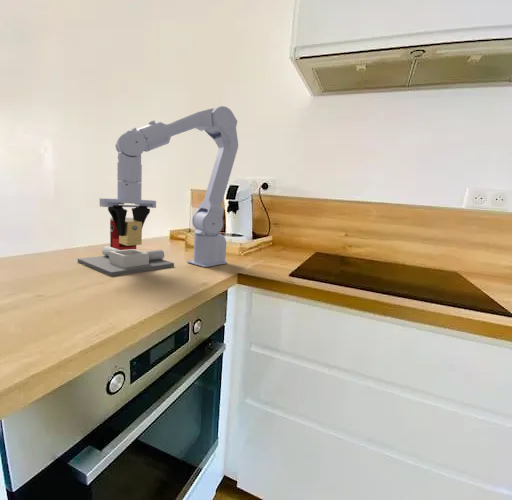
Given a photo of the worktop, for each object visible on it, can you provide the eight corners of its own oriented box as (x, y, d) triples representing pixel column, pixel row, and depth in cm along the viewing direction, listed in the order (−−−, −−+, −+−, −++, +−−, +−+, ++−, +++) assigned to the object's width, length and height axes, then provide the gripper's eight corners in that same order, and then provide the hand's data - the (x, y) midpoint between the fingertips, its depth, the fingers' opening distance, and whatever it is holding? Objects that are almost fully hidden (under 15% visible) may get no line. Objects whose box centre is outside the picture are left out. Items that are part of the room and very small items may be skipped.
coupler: (132, 241, 86) (132, 219, 85) (142, 244, 83) (142, 222, 82) (118, 242, 83) (118, 220, 82) (127, 245, 80) (128, 222, 79)
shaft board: (138, 255, 100) (138, 242, 99) (174, 266, 89) (174, 252, 88) (77, 262, 86) (77, 247, 85) (111, 276, 75) (111, 259, 74)
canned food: (118, 249, 107) (118, 216, 105) (140, 251, 106) (141, 218, 104) (105, 253, 100) (104, 218, 98) (128, 255, 99) (129, 220, 97)
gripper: (146, 183, 89) (145, 231, 91) (93, 179, 78) (94, 234, 80) (161, 184, 85) (160, 235, 87) (107, 180, 73) (107, 238, 76)
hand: (129, 235), depth 83 cm, fingers closed on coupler, 4 cm apart
